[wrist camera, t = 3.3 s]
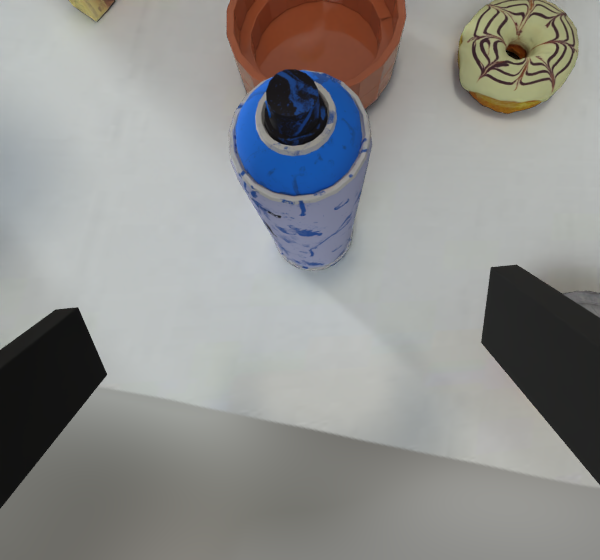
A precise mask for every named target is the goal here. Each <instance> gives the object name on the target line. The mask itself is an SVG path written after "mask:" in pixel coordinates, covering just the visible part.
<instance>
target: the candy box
mask: <svg viewBox="0 0 600 560" xmlns="http://www.w3.org/2000/svg"><path fill="white" fill-rule="evenodd" d="M69 1H70V2H71V4H72V5H73V6H74V7H76V8H77V9H79V10H80V11H82V12H83V13H85V14H86V15H87V16H89V17H90V18H92V19H93V20H95V21H96V22H97V21H98V20H99V19H100V17H101V16H102V15H103V14H104V13H105V12H106V11H107V10H108V8H109V7H110V6H111V5H112V3H113V2H114V1H115V0H69Z"/></svg>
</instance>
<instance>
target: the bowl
mask: <svg viewBox="0 0 600 560" xmlns="http://www.w3.org/2000/svg"><path fill="white" fill-rule="evenodd" d="M405 21H406V8H405V0H230V3H229V5H228V8H227V38H228V41H229V44H230V46H231V49H232V52H233V55H234V58H235V61H236V64H237V67H238V70H239V72H240V75H241V78H242V81H243V83H244V86H245V89H246V91H247V93H249V92H250V91H251V90H252V89H254V88H255V87H256V86H257V85H258V84H260V83H261V82H262V81H264V80H266V79H269V78H271V77H273V76H275V74H276V73H279V72H281V71H283V70H285V69H296V70H308V71H315V72H322V73H326V74H328V75H330V76H332V77H334V78H336V79H338V80H340V81H342V82H344V83H345V84H346V85H347V86H348V87H349V88H350V89H351V90H352V91H353V92H354V93H355V94H356V95H357V96H358V97H359V99H360V101H361V103H362V105H363V107H364V109H365V108H367V107H368V106H369V105H371V104H372V103H373V102H374V101H376V100H377V98H378V97H379V95H380V94H381V92H382V91H383V90H384V88H385V87H386V85H387V84H388V82H389V81H390V78H391V75H392V71H393V68H394V64H395V60H396V57H397V53H398V49H399V45H400V40H401V37H402V33H403V29H404V25H405Z"/></svg>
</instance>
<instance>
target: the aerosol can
mask: <svg viewBox="0 0 600 560" xmlns="http://www.w3.org/2000/svg"><path fill="white" fill-rule="evenodd" d="M371 147H372V139H371V131H370V124H369V117H368V115H367V113H366V111H365V109H364V107H363V105H362V103H361V101H360V99H359V97H358V96H357V95H356V94H355V93H354V92H353V91H352V90H351V89H350V88H349V87H348V86H347V85H346V84H345V83H344V82H342V81H340V80H338V79H336V78H334V77H332V76H330V75H328V74H326V73H322V72H315V71H308V70H296V69H285V70H283V71H281V72H279V73H276V74H275V76H273V77H271V78H269V79H266V80H264V81H262V82H261V83H260V84H258V85H257V86H256V87H255V88H254V89H252V90H251V91H250V92H249V93H248V94H247V95H246V96H245V97H244V99H243V100H242V102H241V103H240V105H239V106H238V108H237V109H236V111H235V112H234V116H233V120H232V123H231V127H230V130H229V151H230V157H231V163H232V166H233V168H234V171H235V173H236V175H237V178H238V180H239V182H240V184H241V185H242V187H243V189H244V190H245V192H246V194H247V195H248V197H249V199H250V200H251V202H252V204H253V205H254V207H255V209H256V210H257V212H258V214H259V215H260V217H261V219H262V220H263V222H264V224H265V225H266V227H267V229H268V230H269V232H270V234H271V235H272V237H273V239H274V241H275V243H276V246H277V248H278V251H279V252H280V254H281V255H282V256H283V257H284V258H285V259H286V260H287V262H289V263H291V264H292V265H294V266H296V267H298V268H301V269H306V270H310V271H311V270H321V269H325V268H327V267H329V266H332V265H334V264H335V263H337V262H338V261H339V260H340V259H341V258H342V257H343V256H344V255H345V253H346V252H347V250H348V248H349V247H350V245H351V240H352V235H353V224H354V220H355V215H356V211H357V207H358V203H359V199H360V195H361V190H362V186H363V182H364V178H365V174H366V169H367V165H368V161H369V156H370V152H371Z"/></svg>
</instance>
